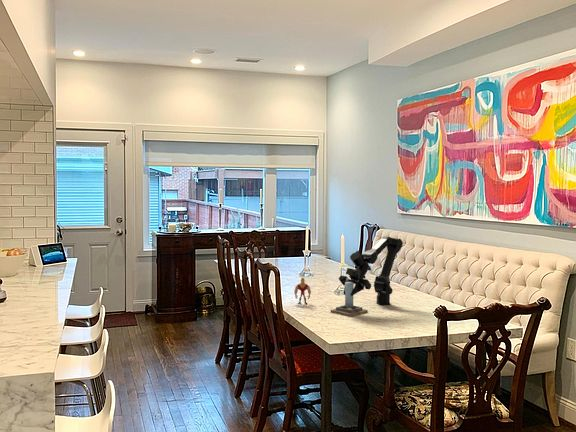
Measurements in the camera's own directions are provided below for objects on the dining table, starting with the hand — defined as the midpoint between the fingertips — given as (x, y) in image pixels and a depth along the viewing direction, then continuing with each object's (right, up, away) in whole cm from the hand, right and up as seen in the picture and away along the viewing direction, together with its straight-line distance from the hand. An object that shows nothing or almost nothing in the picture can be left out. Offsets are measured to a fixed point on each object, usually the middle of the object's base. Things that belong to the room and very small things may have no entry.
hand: (347, 294), depth 302 cm
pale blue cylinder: (+1, -7, +1) cm, 7 cm away
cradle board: (+1, -9, +1) cm, 10 cm away
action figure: (-23, -8, +23) cm, 34 cm away
